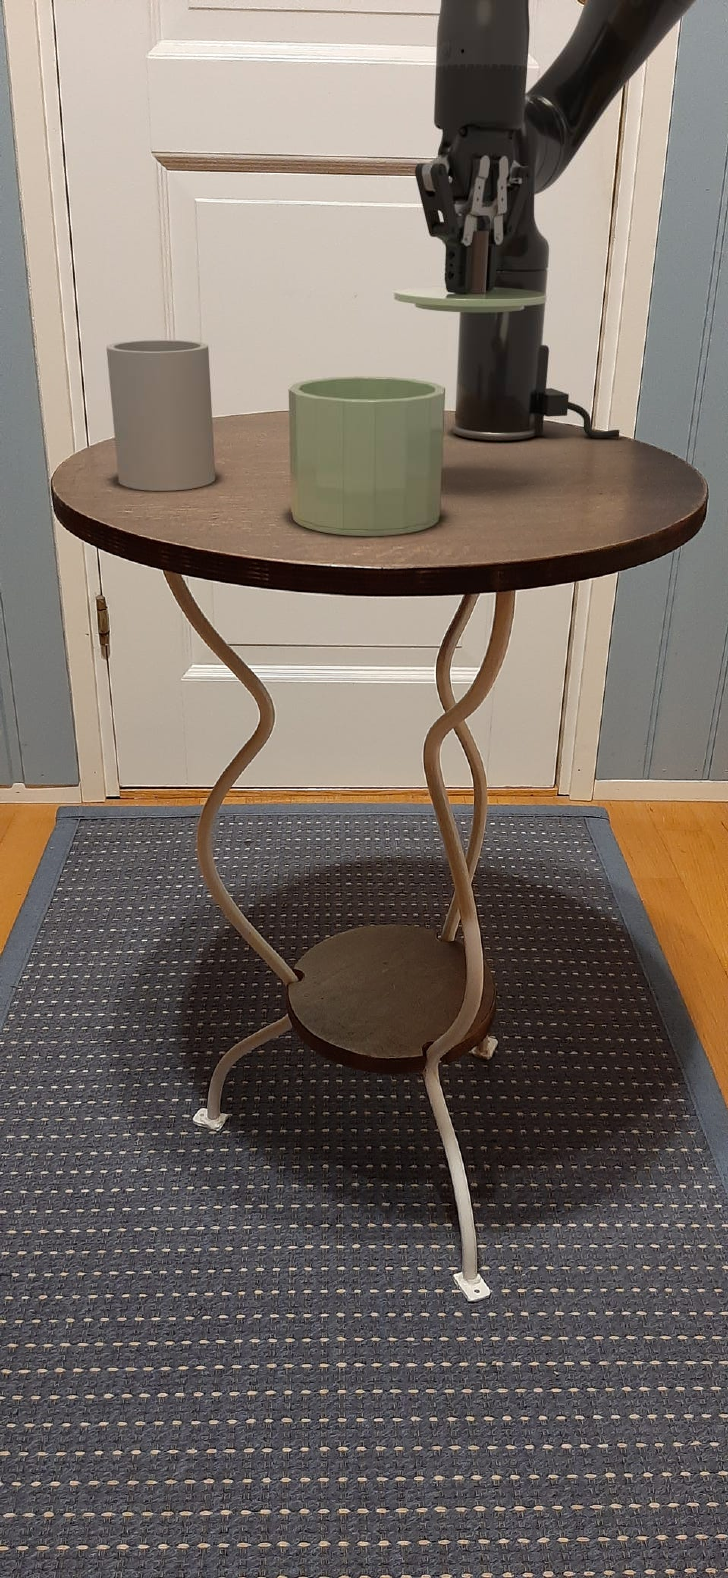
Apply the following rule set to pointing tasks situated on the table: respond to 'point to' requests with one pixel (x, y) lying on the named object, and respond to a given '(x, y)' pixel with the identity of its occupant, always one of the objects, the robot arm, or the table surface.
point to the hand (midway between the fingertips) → (470, 290)
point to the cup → (162, 414)
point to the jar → (366, 454)
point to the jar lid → (472, 289)
